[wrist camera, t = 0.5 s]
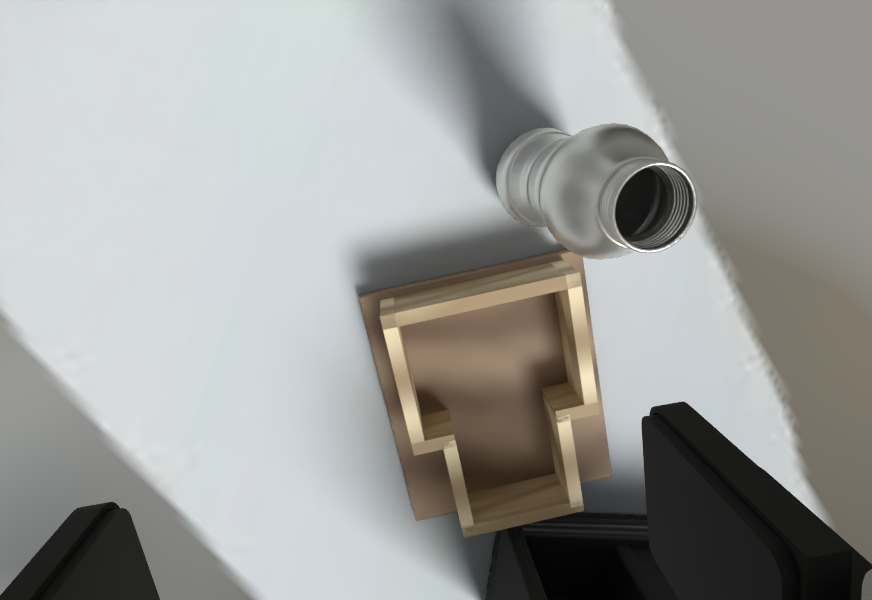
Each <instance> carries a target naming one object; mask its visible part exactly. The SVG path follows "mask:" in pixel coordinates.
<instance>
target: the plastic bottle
mask: <svg viewBox="0 0 872 600" xmlns="http://www.w3.org/2000/svg"><path fill="white" fill-rule="evenodd" d="M496 187H497V191H498V195H499V198H500V201H501V203H502V205H503V207H504V208H505V209H506V211H507V212H508V213H509V214H510V215H511V216H512V217H513V218H514V219H516V220H518V221H519V222H521V223H523V224H526V225H530V226H538V227H547V228H548V229H549V231H550V232H551V234H552V235H553V236H554V238H555V239H556V240H558V241H559V242H560V243H561V244H562V245H563V246H564V247H565V248H566V249H568V250H569V251H571V252H573V253H575V254H576V255H579V256H582V257H585V258H588V259H599V260H601V259H610V258H616V257H620V256H623V255H626V254H629V253H631V252H633V251H637V252H643V253H653V252H659V251H662V250H665V249H667V248H669V247H671V246H673V245H674V244H675V243H677V242H678V241H679V240H680V239H681V238H682V237H683V236H684V235H685V234H686V232H687V231H688V229H689V228H690V226H691V224H692V222H693V219H694V217H695V213H696V209H697V194H696V189H695V186H694V183H693V181H692V180H691V178H690V176H689V175H688V174H687V173H686V172H685V171H684V170H683V169H682V168H680V167H679V166H677V165H675V164H673V163H670V162H669V161H668V158H667V157H666V155H665V153H664V152H663V150H662V149H661V148H660V146H659V145H658V144H657V143H656V142H655V141H654V140H653V139H652V138H650V137H649V136H648V135H647V134H645V133H644V132H642V131H640V130H639V129H637V128H634V127H631V126H628V125H624V124H615V123H613V124H603V125H599V126H594V127H591V128H588V129H585V130H582V131H581V132H579V133H577V134H575V135H573V136H571V135H570V134H568V133H566V132H564V131H561V130H558V129H554V128H537V129H534V130H531V131H528V132H526V133H524V134H522V135H521V136H519V137H518V138H517V139H515V140H514V141H513V142H512V143H511V144H510V145H509V147H508V148H507V149H506V150H505V151H504V153H503V155H502V157H501V159H500V161H499V164H498V167H497V173H496Z"/></svg>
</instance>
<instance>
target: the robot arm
mask: <svg viewBox="0 0 872 600" xmlns="http://www.w3.org/2000/svg"><path fill="white" fill-rule="evenodd" d="M642 440H643V456H644V473H645V489H646V505H647V522H648V538H649V545H650V549H651V552H652V555H653V558H654V560H655V562H656V564H657V565H658V567H659V568H660V570H661V572H662V573H663V575H664V576H665V578H666V580H667V581H668V583H669V584H670V586H671V587H672V589H673V591H674V592H675V594H676V595H677V597H678V599H679V600H872V564H871V563H869V562H868V561H867V560H866V559H865V558H864V557H863V556H861V555H860V554H859V553H858V552H857V551H856V550H855V549H853V548H852V547H851V546H850V545H849V544H848V543H847V542H846V541H844V540H843V539H842V538H841V537H840V536H839V535H838V534H836V533H835V532H834V531H833V530H832V529H831V528H830V527H828V526H827V525H826V524H825V523H824V522H823V521H822V520H821V519H819V518H818V517H817V516H816V515H815V514H814V513H813V512H811V511H810V510H809V509H808V508H807V507H806V506H805V505H803V504H802V503H801V502H800V501H799V500H798V499H797V498H795V497H794V496H793V495H792V494H791V493H790V492H789V491H788V490H786V489H785V488H784V487H783V486H782V485H781V484H780V483H778V482H777V481H776V480H775V479H774V478H773V477H772V476H770V475H769V474H768V473H767V472H766V471H765V470H763V469H762V468H760V467H759V466H757V465H756V464H755V463H754V462H753V461H752V460H751V459H750V458H748V457H747V456H746V455H745V454H744V453H743V452H742V451H740V450H739V449H738V448H737V447H736V446H735V445H734V444H733V443H731V442H730V441H729V440H728V439H727V438H726V437H725V436H723V435H722V434H721V433H720V432H719V431H718V430H717V429H716V428H714V427H713V426H712V425H711V424H710V423H709V422H708V421H707V420H705V419H704V418H703V417H702V416H701V415H700V414H699V413H697V412H696V411H695V410H694V409H693V408H692V407H691V406H690V405H688V404H687V403H685V402H678V403H672V404H666V405H661V406H655V407H652V408H651V411H650V416H645V417H643V418H642ZM0 600H160V598H159V595H158V593H157V590H156V587H155V584H154V581H153V578H152V575H151V573H150V570H149V567H148V564H147V561H146V558H145V555H144V552H143V550H142V547H141V544H140V541H139V538H138V535H137V532H136V530H135V527H134V524H133V521H132V518H131V515H130V513H129V512H128V511H127V509H123V508H122V509H120V508H119V506H118V505H117V504H116V503H113V502H108V503H103V504H97V505H91V506H86V507H80V508H77V509H76V510H74V511H73V512H72V513H71V514H70V516H69V517H68V518H67V519H66V520H65V521H64V523H63V524H62V525H61V526H60V527H59V528H58V530H57V531H56V532H55V533H54V534H53V535H52V536H51V538H50V539H49V540H48V541H47V542H46V543H45V545H44V546H43V547H42V548H41V549H40V550H39V551H38V553H37V554H36V555H35V556H34V557H33V558H32V559H31V561H30V562H29V563H28V564H27V565H26V566H25V568H24V569H23V570H22V571H21V572H20V573H19V575H18V576H17V577H16V578H15V579H14V580H13V581H12V583H11V584H10V585H9V586H8V587H7V588H6V590H5V591H4V592H3V593H2V594H1V595H0Z"/></svg>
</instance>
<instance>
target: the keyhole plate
mask: <svg viewBox="0 0 872 600" xmlns="http://www.w3.org/2000/svg"><path fill="white" fill-rule="evenodd" d="M359 300H360V304H361V308H362V311H363V315H364V319H365V323H366V327H367V331H368V335H369V339H370V343H371V347H372V351H373V355H374V358H375V362H376V366H377V370H378V374H379V378H380V382H381V386H382V390H383V394H384V398H385V401H386V405H387V409H388V413H389V417H390V421H391V425H392V429H393V433H394V437H395V441H396V444H397V448H398V452H399V456H400V460H401V464H402V468H403V472H404V476H405V480H406V484H407V488H408V491H409V495H410V499H411V503H412V507H413V511H414V515H415V519H416V521H419V520H423V519H428V518H432V517H436V516H441V515H445V514H450V513H454V512H458V515H459V519H460V524H461V528H462V533H463V537H464V538H468V537H472V536H476V535H481V534H485V533H490V532H494V531H498V530H503V529H507V528H511V527H516V526H520V525H524V524H529V523H533V522H537V521H542V520H546V519H551V518H555V517H559V516H564V515H568V514H572V513H577V512H581V511H584V505H583V499H582V492H581V486H580V484H581V483H585V482H590V481H594V480H598V479H603V478H607V477H611V476H612V472H611V465H610V457H609V450H608V442H607V435H606V428H605V420H604V413H603V405H602V398H601V390H600V383H599V375H598V368H597V361H596V353H595V346H594V338H593V331H592V323H591V316H590V308H589V301H588V293H587V286H586V279H585V271H584V264H583V257H582V256H579V255H576V254H575V253H573V252H571V251H569V250H568V249H565V250H561V251H556V252H552V253H547V254H542V255H538V256H533V257H529V258H524V259H520V260H515V261H511V262H506V263H502V264H497V265H493V266H488V267H483V268H479V269H474V270H470V271H465V272H461V273H456V274H452V275H447V276H443V277H438V278H434V279H429V280H424V281H420V282H415V283H411V284H406V285H402V286H397V287H393V288H388V289H384V290H379V291H375V292H370V293H365V294H361V295H360V296H359Z"/></svg>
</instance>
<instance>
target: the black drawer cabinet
mask: <svg viewBox="0 0 872 600" xmlns="http://www.w3.org/2000/svg"><path fill="white" fill-rule="evenodd" d="M495 538H496V539H495V543H494V548H493V552H492V557H493V558H492V563H491V568H490V576H489V578H488V581H489V582H488V584H487V595H486V600H679V599H678V597H677V595H676V594H675V592H674V591H673V589H672V587H671V586H670V584H669V583H668V581H667V580H666V578H665V576H664V575H663V573H662V572H661V570H660V568H659V567H658V565H657V564H656V562H655V560H654V558H653V555H652V552H651V549H650V545H649V538H648V522H647V516H636V515H614V514H583V513H572V514H568V515H564V516H559V517H555V518H551V519H546V520H542V521H537V522H533V523H529V524H524V525H520V526H516V527H511V528H507V529H503V530H498V531H497V532H496V537H495Z"/></svg>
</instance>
